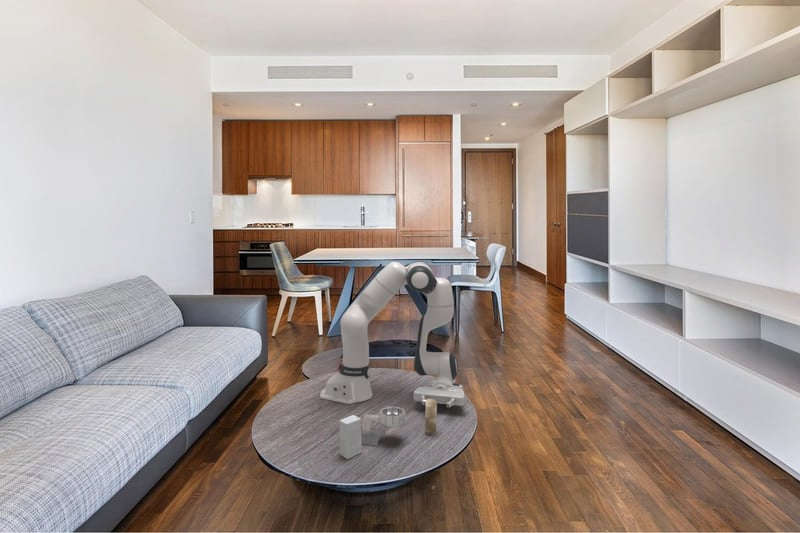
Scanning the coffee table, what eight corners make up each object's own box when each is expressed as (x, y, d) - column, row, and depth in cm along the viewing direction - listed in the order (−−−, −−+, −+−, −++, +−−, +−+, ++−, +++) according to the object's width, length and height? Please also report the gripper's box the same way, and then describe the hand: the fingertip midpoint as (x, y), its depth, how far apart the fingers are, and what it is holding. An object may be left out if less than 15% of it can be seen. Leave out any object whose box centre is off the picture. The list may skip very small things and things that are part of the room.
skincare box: (353, 448, 156) (353, 414, 154) (361, 453, 153) (361, 418, 151) (339, 454, 151) (338, 419, 150) (347, 459, 148) (347, 424, 147)
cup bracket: (349, 442, 159) (349, 413, 158) (358, 429, 169) (358, 401, 168) (401, 449, 155) (401, 419, 154) (408, 435, 165) (408, 407, 163)
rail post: (424, 434, 165) (424, 402, 164) (426, 429, 169) (426, 398, 168) (435, 436, 164) (435, 403, 163) (437, 431, 168) (437, 399, 167)
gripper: (416, 380, 193) (409, 393, 179) (466, 385, 188) (462, 398, 174) (416, 395, 193) (409, 408, 180) (465, 400, 189) (462, 414, 175)
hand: (436, 404), depth 177 cm, fingers open, 8 cm apart
